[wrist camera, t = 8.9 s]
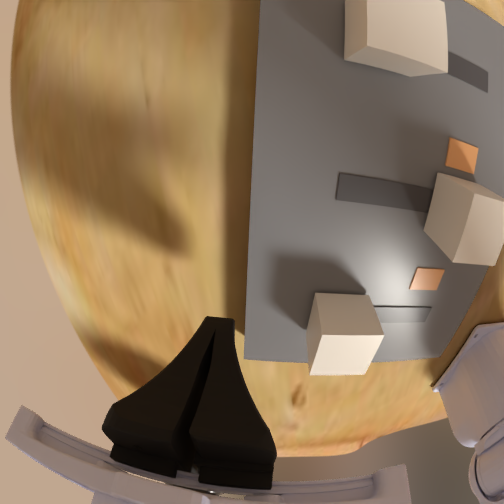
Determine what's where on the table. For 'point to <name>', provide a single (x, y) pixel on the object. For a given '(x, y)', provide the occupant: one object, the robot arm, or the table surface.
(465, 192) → the slider middle
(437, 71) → the block
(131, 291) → the table surface
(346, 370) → the block
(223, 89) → the table surface
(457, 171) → the switch panel
